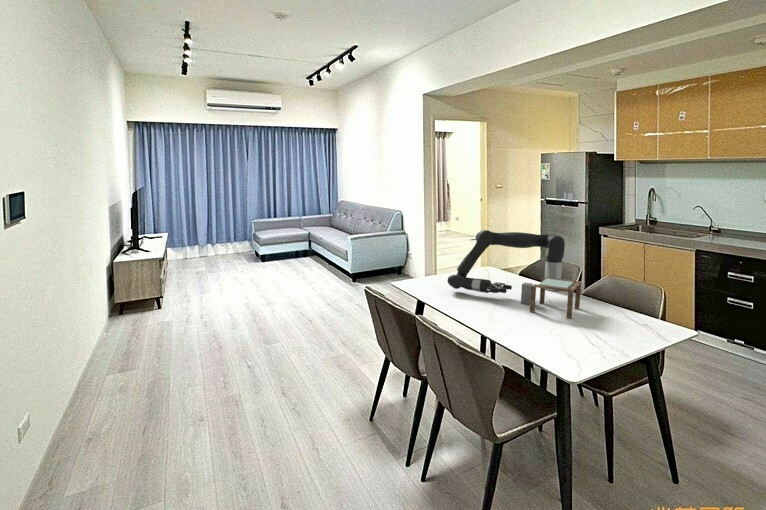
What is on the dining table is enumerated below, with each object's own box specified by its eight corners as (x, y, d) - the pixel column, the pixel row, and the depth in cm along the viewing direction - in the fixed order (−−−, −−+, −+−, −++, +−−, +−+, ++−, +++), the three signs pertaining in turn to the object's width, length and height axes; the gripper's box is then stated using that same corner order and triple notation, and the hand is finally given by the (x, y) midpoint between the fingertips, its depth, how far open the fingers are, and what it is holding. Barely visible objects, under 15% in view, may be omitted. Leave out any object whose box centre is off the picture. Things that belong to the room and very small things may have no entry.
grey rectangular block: (523, 301, 255) (524, 282, 253) (531, 303, 252) (532, 283, 250) (520, 303, 251) (521, 284, 249) (529, 305, 249) (530, 285, 247)
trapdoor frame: (540, 302, 253) (542, 276, 251) (579, 308, 242) (581, 281, 240) (529, 312, 237) (531, 284, 234) (570, 318, 226) (572, 290, 223)
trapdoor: (546, 280, 247) (546, 278, 247) (575, 284, 239) (575, 281, 238) (538, 286, 235) (538, 284, 235) (568, 290, 227) (568, 288, 227)
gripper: (476, 281, 259) (504, 285, 250) (486, 276, 270) (513, 280, 261) (476, 294, 260) (504, 299, 251) (485, 289, 272) (512, 292, 263)
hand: (508, 289), depth 256 cm, fingers open, 8 cm apart
